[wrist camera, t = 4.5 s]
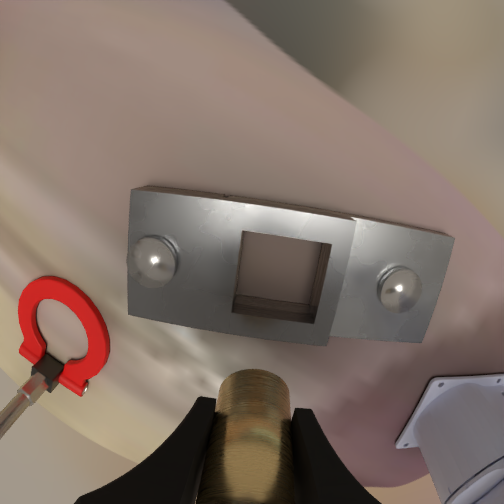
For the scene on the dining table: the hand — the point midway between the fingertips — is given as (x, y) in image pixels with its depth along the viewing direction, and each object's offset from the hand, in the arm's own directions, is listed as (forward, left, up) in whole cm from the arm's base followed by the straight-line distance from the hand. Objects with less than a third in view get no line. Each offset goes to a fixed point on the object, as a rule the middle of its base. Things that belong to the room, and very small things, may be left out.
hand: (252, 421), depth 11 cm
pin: (0, 0, -2) cm, 2 cm away
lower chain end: (-4, -4, -8) cm, 10 cm away
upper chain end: (+2, -4, -8) cm, 9 cm away
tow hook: (+14, +4, -9) cm, 17 cm away
